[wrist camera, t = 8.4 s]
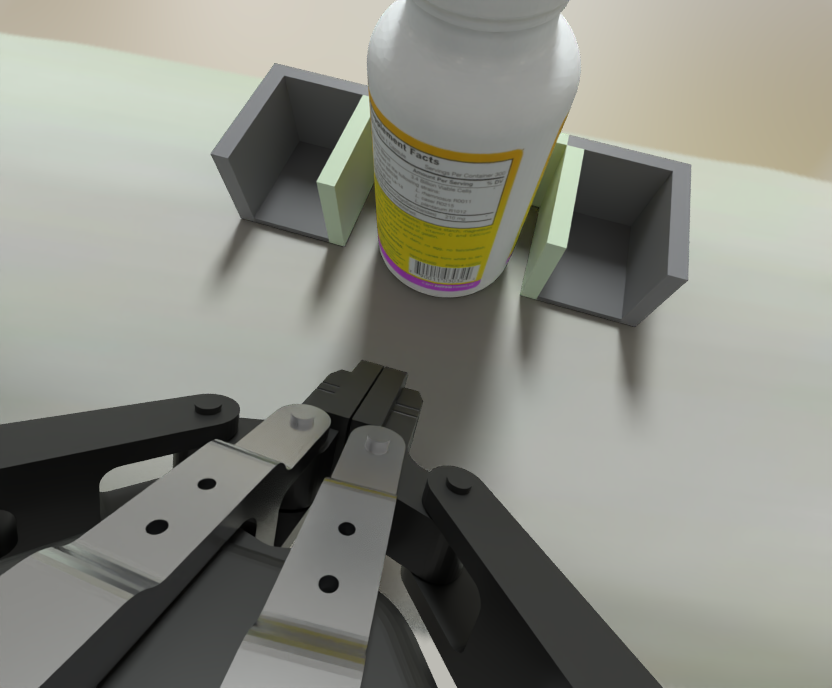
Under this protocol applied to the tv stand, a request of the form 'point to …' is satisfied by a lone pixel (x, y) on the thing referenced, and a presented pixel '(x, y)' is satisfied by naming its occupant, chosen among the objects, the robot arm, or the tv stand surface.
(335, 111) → the bay rack
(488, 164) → the supplement bottle
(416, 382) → the tv stand surface
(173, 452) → the robot arm
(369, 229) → the tv stand surface
